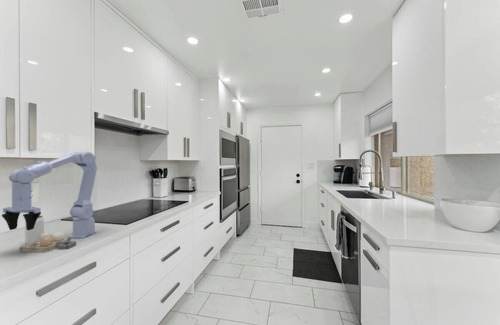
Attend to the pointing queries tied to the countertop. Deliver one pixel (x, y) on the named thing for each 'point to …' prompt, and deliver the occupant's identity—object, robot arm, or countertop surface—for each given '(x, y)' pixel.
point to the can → (34, 231)
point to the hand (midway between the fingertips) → (21, 229)
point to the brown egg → (46, 241)
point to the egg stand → (66, 245)
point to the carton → (38, 248)
